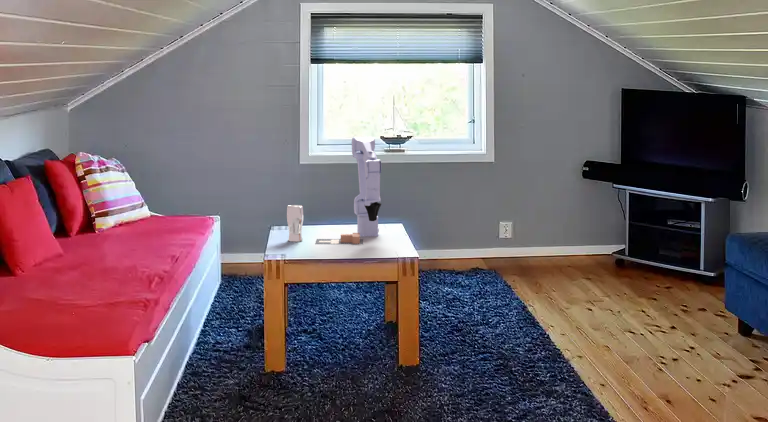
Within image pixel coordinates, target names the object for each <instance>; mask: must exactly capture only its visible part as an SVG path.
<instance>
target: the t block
mask: <svg viewBox="0 0 768 422" xmlns="http://www.w3.org/2000/svg"><path fill="white" fill-rule="evenodd" d="M340 239H341V242H352V244H351V245H361V244H360V239H361V236H360V233H357V232H352V233H341V234H340Z"/></svg>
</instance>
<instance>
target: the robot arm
mask: <svg viewBox="0 0 768 422" xmlns="http://www.w3.org/2000/svg"><path fill="white" fill-rule="evenodd" d="M375 148H376V139H375V138H374V137H373V136H368V137H367V136H364V137H363V136H362V137H361V136H359V137H356V136H353V137H352V138H351V154H352V157H353V158H355V159H356V163H357V170H358V171H357V172H358V186H359V187H358V189H359V190H358V191H359V194H358V195H357V196H355V197H354V199H353V212H354V214H355V215H356V217H357V218H356V219H357V223H356V224H357V225H356V226H357V229H356V230H357V231H356V233H360V237H378V236H379V231H380V228H379V215H378V214H379V212H380V209H381V206H382V203H381V201H382V199H381V196H380V195H381V194H380V193H381V189H380V188H381V173H382V169H383V167H382V165H383V164H382V160H381V159H378V157H377V154H376V152H375Z"/></svg>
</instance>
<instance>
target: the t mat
mask: <svg viewBox="0 0 768 422" xmlns="http://www.w3.org/2000/svg"><path fill="white" fill-rule="evenodd" d="M314 244H315V245H353V244H352V242H341V238H316V240H315V243H314ZM359 245H364V238H360V244H359Z"/></svg>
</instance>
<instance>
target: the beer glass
mask: <svg viewBox="0 0 768 422" xmlns="http://www.w3.org/2000/svg"><path fill="white" fill-rule="evenodd" d="M286 207H287V208H286V220H287V227H288V239H287V241H288V242H289V243H290V242H291V243H300V242H303V235H302V230H303V223H304V207H303V205H302V204H290V205H287V206H286Z"/></svg>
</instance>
